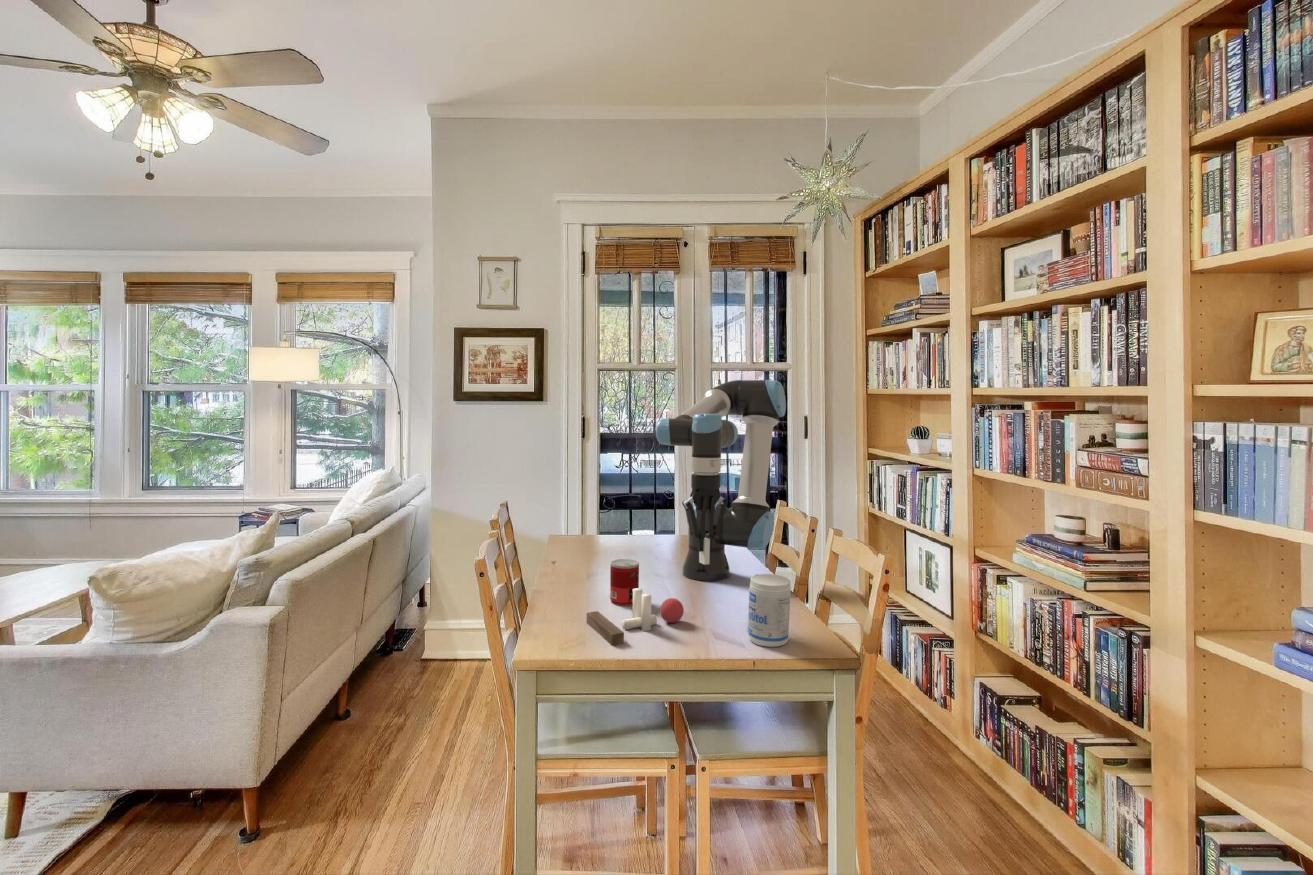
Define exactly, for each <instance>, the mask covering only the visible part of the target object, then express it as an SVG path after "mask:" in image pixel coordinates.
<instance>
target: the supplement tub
mask: <svg viewBox="0 0 1313 875" xmlns="http://www.w3.org/2000/svg"><path fill="white" fill-rule="evenodd" d="M791 587H792V586H791V580H790V579H789V578H787V577H785V576H783V575H778V574H771V573H759V574H755V575H753V576H751V578H750V582H749V590H748V592H749V593H748V615H747V616H748V617H747V618H748V619H747V638H748V639H749V641H750V642H752V643H753V644H755V645H758V646H762V647H768V648H777V647H782V646H785V645H786V644H787V643H788V641H789V636H790V635H789V634H790V633H789V631H790V627H789V626H790V616H791V615H790V614H791V613H790V612H791V611H790V610H791V594H792V593H791V589H792V588H791Z"/></svg>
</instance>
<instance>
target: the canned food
mask: <svg viewBox="0 0 1313 875" xmlns="http://www.w3.org/2000/svg"><path fill="white" fill-rule="evenodd" d="M609 570H610V572H609V573H610V577H609V578H610V579H609V580H610V586H609V587H610V588H609V589H610V590H609V591H610V594H609V596H610V601H611V602H610V603H612V604H614V605H617V606H633V605H632V604H633V589H635V588H640V563H639V561H637V560H634V559H630V558H620V559H619V558H618V559H614V560H612V561H611V562H610V568H609Z"/></svg>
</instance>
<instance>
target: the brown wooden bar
mask: <svg viewBox="0 0 1313 875" xmlns="http://www.w3.org/2000/svg"><path fill="white" fill-rule="evenodd" d="M586 624H587V625H588V626H590V627H591V628H592V629H593V630H594V631H595V632H597V633H598V634H599V635H600V636H601V637H602V638H603V639H604V640H605V641H606V642H608V643H609V645H611V646H615V645H621V644H624V643H625V632H624V631H623V630H621V629H620V628H619V627H618V626H616V624H614V623H613V622H612V621H611V620H609V619H608V618H607V617H605V615H603V614H602V613H601V612H600V611H598V610H595V611H590V612H586Z"/></svg>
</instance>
